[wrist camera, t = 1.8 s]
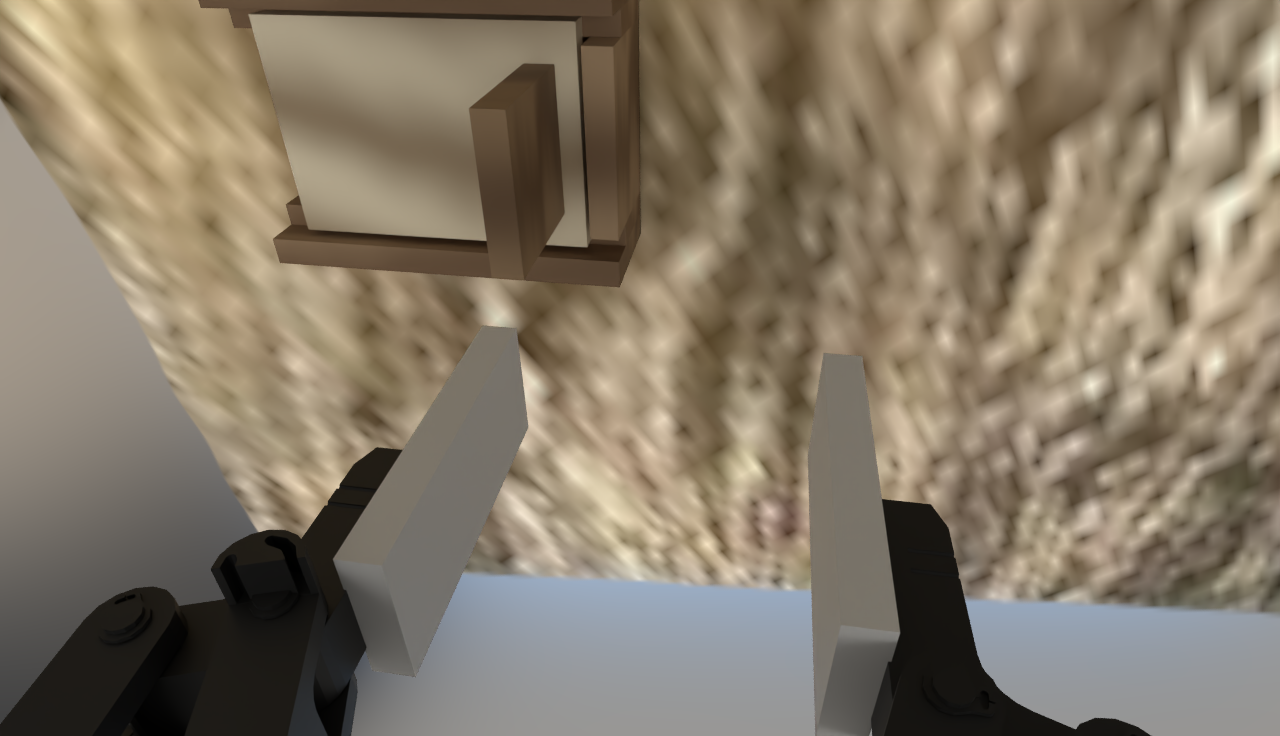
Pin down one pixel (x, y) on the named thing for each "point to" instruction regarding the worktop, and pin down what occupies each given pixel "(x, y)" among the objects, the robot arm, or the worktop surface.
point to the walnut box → (608, 138)
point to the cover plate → (434, 125)
